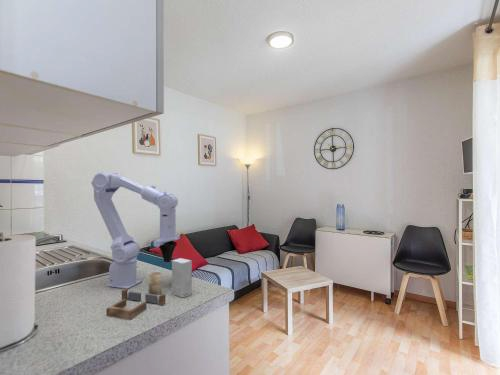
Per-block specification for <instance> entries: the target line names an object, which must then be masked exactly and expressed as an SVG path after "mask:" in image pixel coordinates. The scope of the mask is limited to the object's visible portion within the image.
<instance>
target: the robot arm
mask: <svg viewBox="0 0 500 375" xmlns="http://www.w3.org/2000/svg"><path fill="white" fill-rule="evenodd" d="M90 184H91V186H92V187H93V200H94V202H95V205H96V207H97V209H98V211H99V213H100V215H101V217H102V219H103V222H104V225H105V226H106V228H107V230H108V233H109V235H110V238H111V239H112V242H111V245H110V249H111V252H112V254H111V257H112V260H113V261H112V262H111V263H110V265H109V269H108V284H106V286H107V287H110V288H111V287H113V288H117V289H118V288H119V289H128V290H129V289H130V288H132V287H134V286H136V285H138V284H140V283H142V280H141V279H138V278H137V277H138V276H137V273H138V271H137V269H138V267H137V265H138V263H137V262H138V261H137V260H138V255H139V254H140V253H141V252H140V251H141V247H140V245H139V243H137V242H136V241H135V240H134V237H132V236H131V235H129V234H128V232H127V230H126V228H125V225H124V224H123V222H122V219H121V216H120V215H119V213H118V210H117V209H116V206H115V203H114V202H113V200H112V198H113V196H114V194H115V193H116V192H117V191H118V190H119V189H120V188H124V189H126V190H130V191H131V192H134V193H137V194H139V195H140V196H141V199H142V200H144V201H146V202H148V203H151V204H153V205H155V206H157V207H158V209H159V237H158V238H157V239H156V240H153V247H155V248H156V247H157V248H159V250H160V251H161V252H160V253H161V254H162V258H163V261H164V262H165V263H170V262H172V257H173V254H174V250H175V249H176V247H177V245H178V242H177V240H180V238H181V235H180V234H179V233H176V219H177V218H176V216H177V215H176V210H177V208H176V207H177V206H178V203H179V201H178V198H177V196H176V195H174V194H173V193H167V191H165V190H164V191H162V190H161V189H158V188H157V186H156V185H147V186H144V185H142V184H140V183H138V182H136V181H134V180H132V179H130V178H128V177H126V176H124V175H123V174H119V173H113V172H112V173H111V172H110V173H109V172H103V171H101V172H98V173H95V175H94V176H93V178H92V181H91V183H90Z"/></svg>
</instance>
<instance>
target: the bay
mask: <svg viewBox="0 0 500 375" xmlns="http://www.w3.org/2000/svg"><path fill="white" fill-rule="evenodd" d="M126 306H127V299H123V300H122V299H121V300H119V301H118V302H116V303H113V304H112V305H111V306H108V307H107V308H106V316H107V317H113V318H119V319H125V320H130V321H131V320H132V319H134V318H135V317H137V316H138V315H139V314H141V313H142V312H144V311H145V310H147V302H145V301H142V302H141V303H140V304H138V305H137V306H135V307H133V308H125V307H126Z"/></svg>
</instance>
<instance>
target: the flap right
mask: <svg viewBox="0 0 500 375" xmlns="http://www.w3.org/2000/svg"><path fill="white" fill-rule="evenodd" d="M144 299H145V300H144V302H146V303H151V304H157V305H159V295H154V294H149V293H146V294H145V298H144Z"/></svg>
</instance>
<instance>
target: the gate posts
mask: <svg viewBox="0 0 500 375" xmlns="http://www.w3.org/2000/svg"><path fill="white" fill-rule="evenodd" d="M127 291H129V288H128V289H125V288H123V289H122V290H121V300H123V299H126V300H128V299H127ZM158 305H159V306H165V305H166V293H165V294H164V293H161V294H160V295H159V304H158Z"/></svg>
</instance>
